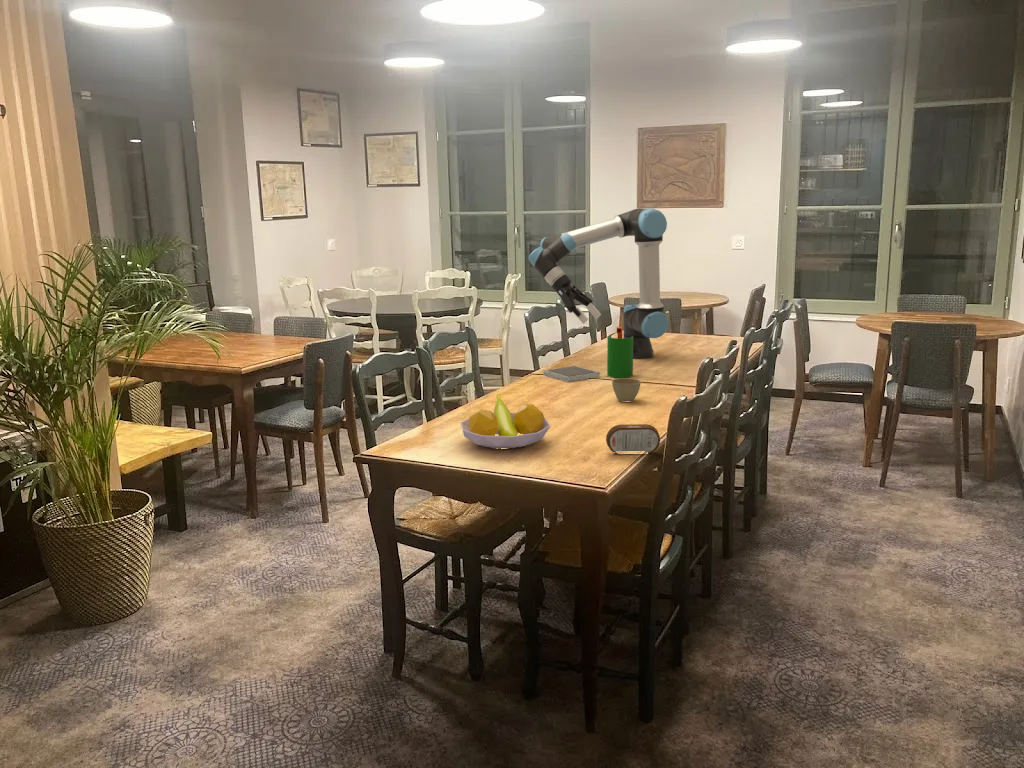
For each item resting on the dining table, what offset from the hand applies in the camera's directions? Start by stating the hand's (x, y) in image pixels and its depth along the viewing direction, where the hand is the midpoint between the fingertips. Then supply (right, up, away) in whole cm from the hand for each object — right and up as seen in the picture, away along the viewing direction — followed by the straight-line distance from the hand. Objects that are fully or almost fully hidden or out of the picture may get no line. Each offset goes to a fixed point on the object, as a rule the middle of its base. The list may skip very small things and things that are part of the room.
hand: (592, 319), depth 335 cm
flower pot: (+8, -32, -40) cm, 52 cm away
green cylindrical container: (+11, -23, 0) cm, 25 cm away
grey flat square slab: (-8, -23, +1) cm, 24 cm away
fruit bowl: (-34, -43, -86) cm, 102 cm away
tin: (+2, -46, -100) cm, 110 cm away
